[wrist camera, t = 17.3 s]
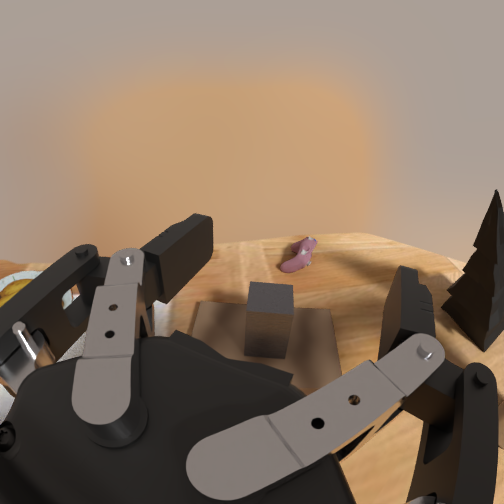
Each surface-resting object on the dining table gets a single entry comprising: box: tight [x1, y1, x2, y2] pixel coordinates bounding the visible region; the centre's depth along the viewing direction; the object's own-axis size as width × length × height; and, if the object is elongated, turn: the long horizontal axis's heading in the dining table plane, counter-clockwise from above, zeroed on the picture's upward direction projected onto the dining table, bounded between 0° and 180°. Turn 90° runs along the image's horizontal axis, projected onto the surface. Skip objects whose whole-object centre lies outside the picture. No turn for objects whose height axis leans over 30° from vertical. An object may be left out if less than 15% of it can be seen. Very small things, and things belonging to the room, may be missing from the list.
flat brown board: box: [191, 301, 342, 395], centre depth 43 cm, size 22×16×7 cm
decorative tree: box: [441, 190, 504, 352], centre depth 39 cm, size 15×15×35 cm
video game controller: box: [280, 236, 317, 273], centre depth 64 cm, size 10×5×7 cm, turn 159°
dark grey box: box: [244, 282, 294, 359], centre depth 41 cm, size 6×6×9 cm
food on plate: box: [0, 271, 73, 309], centre depth 43 cm, size 25×25×7 cm
